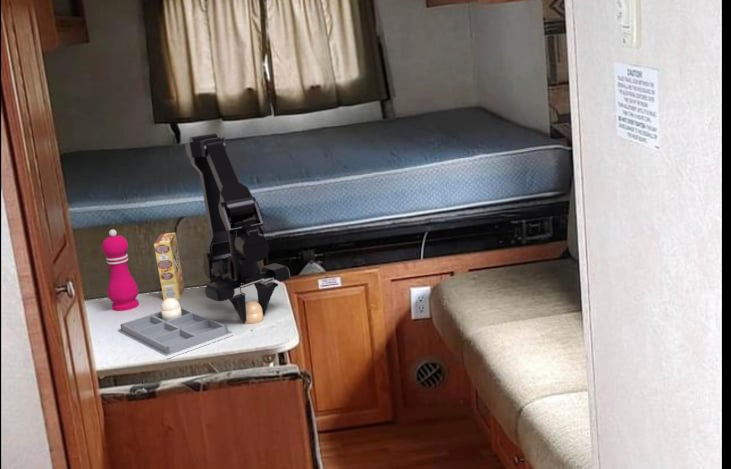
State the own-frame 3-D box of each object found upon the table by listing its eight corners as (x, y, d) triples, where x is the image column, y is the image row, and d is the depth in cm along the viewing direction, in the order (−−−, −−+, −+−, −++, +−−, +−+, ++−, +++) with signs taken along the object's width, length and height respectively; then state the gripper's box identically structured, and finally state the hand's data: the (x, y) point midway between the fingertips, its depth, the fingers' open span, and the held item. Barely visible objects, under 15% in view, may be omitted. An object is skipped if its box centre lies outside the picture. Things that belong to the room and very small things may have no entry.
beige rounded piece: (256, 318, 214) (253, 296, 213) (267, 322, 211) (264, 300, 210) (240, 324, 212) (237, 302, 210) (251, 328, 208) (247, 306, 207)
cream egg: (176, 315, 219) (173, 293, 218) (186, 319, 216) (182, 297, 215) (159, 320, 217) (155, 299, 215) (168, 325, 214) (165, 303, 212)
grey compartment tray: (181, 313, 223) (179, 304, 222) (233, 335, 205) (231, 325, 205) (117, 334, 213) (116, 324, 213) (166, 359, 196) (164, 349, 195)
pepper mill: (133, 314, 226) (119, 233, 220) (105, 315, 227) (90, 234, 222) (146, 303, 232) (132, 224, 227) (118, 304, 234) (105, 226, 229)
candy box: (180, 302, 231) (171, 241, 227) (163, 304, 231) (153, 243, 227) (185, 290, 240) (176, 231, 236) (168, 292, 240) (159, 233, 235)
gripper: (259, 235, 219) (268, 299, 223) (187, 255, 207) (198, 323, 212) (287, 242, 210) (295, 309, 214) (214, 264, 199) (224, 334, 203)
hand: (253, 318), depth 211 cm, fingers open, 5 cm apart
